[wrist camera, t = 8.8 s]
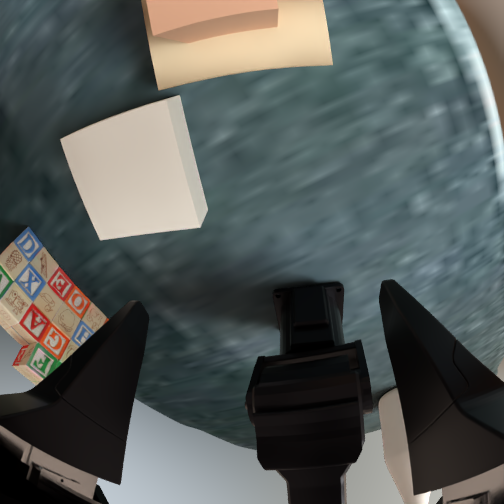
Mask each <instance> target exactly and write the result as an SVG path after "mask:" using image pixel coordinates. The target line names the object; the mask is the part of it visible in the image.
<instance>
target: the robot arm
mask: <svg viewBox="0 0 504 504" xmlns="http://www.w3.org/2000/svg"><path fill="white" fill-rule="evenodd" d="M337 288H340V289H337ZM277 294H280V295H277ZM273 300H274V305H275V310H276V315H277V320H278V325H279V330H280V355H275V356H267V357H265V356H259V357H258V358H257V362H256V364H255V367H254V370H253V374H252V377H251V381H250V384H249V387H248V391H247V394H246V402H245V408H246V409H247V410H248V415H249V418H250V421H251V423H252V424H253V426H255V431H256V439H257V458H258V460H259V462H260V464H261V465H262V467H263V468H264V469H265V470H276V471H277V472H278V473H279V474H280V475H281V476H282V477H283V478H284V479H285V481H286V483H287V491H288V503H289V504H347V503H346V472H347V471H348V469H349V467H350V466H351V464H352V463H355V462H356V461H357V459H358V457H359V455H360V453H361V451H362V446H363V444H364V442H365V433H364V419H363V414H368V413H372V409H373V408H372V393H371V385H370V378H369V373H368V368H367V363H366V359H365V355H364V350H363V346H362V342H361V340H356V341H355V342H352V343H347V344H345V341H344V335H343V329H342V319H343V302H344V287H343V284H341V283H334V284H325V285H316V286H306V287H295V288H285V289H276V290H274V291H273ZM379 304H380V310H381V315H382V321H383V327H384V334H385V340H386V344H387V348H388V352H389V356H390V360H391V364H392V368H393V372H394V376H395V381H396V385H397V389H398V394H399V399H400V404H401V409H402V414H403V419H404V425H405V430H406V436H407V443H408V450H409V458H410V466H411V474H412V484H413V494H414V496H415V495H419V494H423V493H427V492H430V491H434V490H437V489H441V488H442V495H443V496H442V497H441V498H440V499H439V501H438V502H437V503H436V504H504V382H503V381H502V380H501V379H500V378H498V377H497V376H496V375H495V374H494V373H493V372H492V371H490V370H489V369H488V368H487V367H486V366H485V365H484V364H482V363H481V362H480V361H479V360H478V359H477V358H476V357H475V356H473V355H472V354H471V353H470V352H469V351H468V350H467V349H466V348H465V347H464V346H463V345H462V344H461V343H460V342H459V341H458V340H456V338H455V337H454V336H453V335H452V334H451V333H450V332H449V331H448V330H447V329H446V328H445V327H444V326H443V325H442V324H441V323H440V322H439V321H438V320H437V319H436V318H435V317H434V316H433V315H432V314H431V313H430V312H429V311H428V310H427V309H426V308H424V307H423V306H422V305H421V304H420V303H419V302H418V301H417V300H416V299H415V298H414V297H413V296H411V295H410V294H409V293H408V292H407V291H406V290H405V289H404V288H403V287H402V286H400V285H399V284H398V283H397V282H396V281H395V280H393V279H390V280H383V281H382V283H381V289H380V295H379ZM148 324H149V315H148V313H147V311H146V310H145V308H144V306H143V305H142V303H141V302H140V301H129V302H128V303H127V304H126V305H125V306H124V307H123V308H121V309H120V310H119V311H118V312H117V313H116V314H115V315H114V316H113V317H111V318H110V319H109V320H108V321H107V322H106V323H105V324H104V325H103V326H101V327H100V328H99V329H98V330H97V331H96V332H95V333H94V334H93V335H92V336H91V337H90V338H88V339H87V340H86V341H85V342H84V343H83V344H82V345H81V346H80V347H79V348H78V349H77V350H76V351H75V352H73V353H72V355H70V356H69V357H68V358H67V359H66V360H65V361H64V362H63V363H62V364H61V365H60V366H59V367H57V368H56V369H55V370H54V371H53V372H52V373H50V374H49V375H48V376H47V377H46V378H44V379H43V380H42V381H41V382H40V383H38V384H37V385H36V386H35V387H34V388H33V389H31V390H29V391H27V392H24V393H15V394H4V395H0V504H109V503H108V501H107V499H106V497H105V496H104V494H103V492H102V490H101V488H100V486H99V485H97V484H96V483H97V479H98V477H99V478H101V479H104V480H107V481H109V482H112V483H115V484H118V485H120V484H121V478H122V470H123V462H124V455H125V449H126V441H127V435H128V429H129V424H130V418H131V413H132V407H133V402H134V397H135V392H136V388H137V383H138V378H139V374H140V369H141V365H142V361H143V356H144V351H145V344H146V337H147V330H148Z"/></svg>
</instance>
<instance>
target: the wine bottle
mask: <svg viewBox="0 0 504 504" xmlns="http://www.w3.org/2000/svg"><path fill="white" fill-rule="evenodd" d="M378 407H379V414H380V422H381V430H382V438H383V447H384V459H385V463H386V465H387V468H388V470H389V472H390V474H391V476H392V478H393V480H394V482H395V484H396V486H397V488H398V490H399V492H400V495H401V497H402V499H403V501H404V503H405V504H428V501H429V495H430V492H431V491H430V492H427V493H423V494H419V495H415V496H414V494H413V484H412V474H411V466H410V458H409V450H408V443H407V436H406V430H405V425H404V419H403V414H402V409H401V404H400V399H399V394H398V389H397V388H395V389H393V390H391V391H389V392H387V393H386V394H385V395H383V396H382V397H381V399H380V401H379V406H378Z"/></svg>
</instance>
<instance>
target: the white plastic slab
mask: <svg viewBox="0 0 504 504" xmlns="http://www.w3.org/2000/svg"><path fill="white" fill-rule="evenodd" d="M60 140H61V144H62V147H63V150H64V153H65V156H66V158H67V161H68V164H69V167H70V170H71V172H72V175H73V178H74V180H75V183H76V185H77V188H78V191H79V193H80V195H81V198H82V200H83V203H84V205H85V207H86V210H87V212H88V214H89V217H90V219H91V221H92V223H93V226H94V228H95V230H96V232H97V234H98V236H99V238H100V240H106V239H113V238H120V237H127V236H135V235H142V234H150V233H158V232H166V231H174V230H182V229H191V228H200V227H201V225H202V222H203V220H204V218H205V215H206V213H207V211H208V208H207V204H206V200H205V196H204V192H203V189H202V185H201V181H200V177H199V173H198V169H197V165H196V161H195V157H194V153H193V149H192V145H191V141H190V137H189V133H188V128H187V124H186V120H185V116H184V111H183V107H182V103H181V98H180V95H178V96H174V97H170V98H167V99H163V100H160V101H156V102H153V103H150V104H146V105H143V106H140V107H137V108H134V109H131V110H128V111H125V112H123V113H120V114H117V115H114V116H112V117H109V118H106V119H104V120H101V121H99V122H96V123H94V124H91V125H89V126H87V127H84V128H82V129H80V130H78V131H76V132H74V133H71V134H69V135H67V136H66V137H64V138H62V139H60Z"/></svg>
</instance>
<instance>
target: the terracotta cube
mask: <svg viewBox="0 0 504 504" xmlns="http://www.w3.org/2000/svg"><path fill="white" fill-rule="evenodd" d="M146 2H147V7H148V13H149V18H150V24H151V29H152V34H153V36H156V37H161V38H166V39H171V40H175V41H180V42H184V43H192V42H195V41H199V40H204V39H208V38H212V37H217V36H222V35H227V34H232V33H238V32H244V31H250V30H257V29H265V28H274V27H278V11H279V8H278V3H277V0H146Z"/></svg>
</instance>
